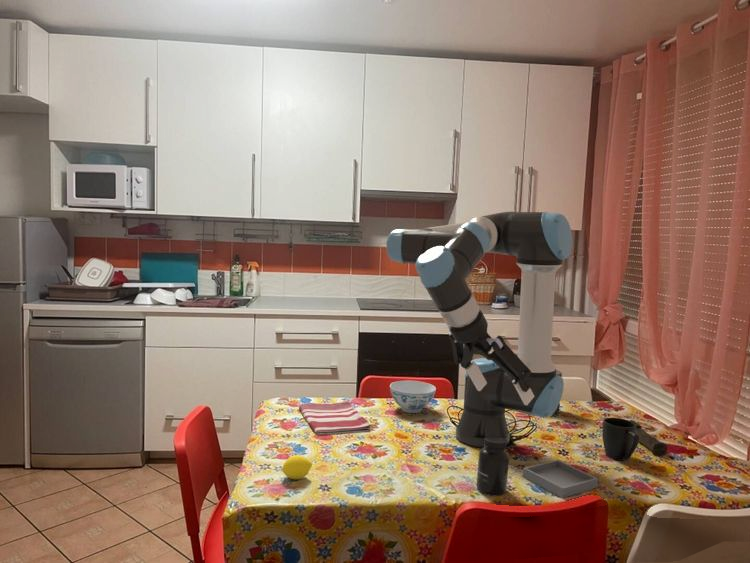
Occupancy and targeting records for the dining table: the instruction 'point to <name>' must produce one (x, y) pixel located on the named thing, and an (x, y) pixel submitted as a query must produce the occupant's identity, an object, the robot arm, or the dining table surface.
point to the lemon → (296, 467)
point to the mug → (619, 438)
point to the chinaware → (412, 395)
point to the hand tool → (650, 441)
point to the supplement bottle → (493, 466)
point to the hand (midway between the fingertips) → (504, 393)
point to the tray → (560, 478)
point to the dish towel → (333, 418)
